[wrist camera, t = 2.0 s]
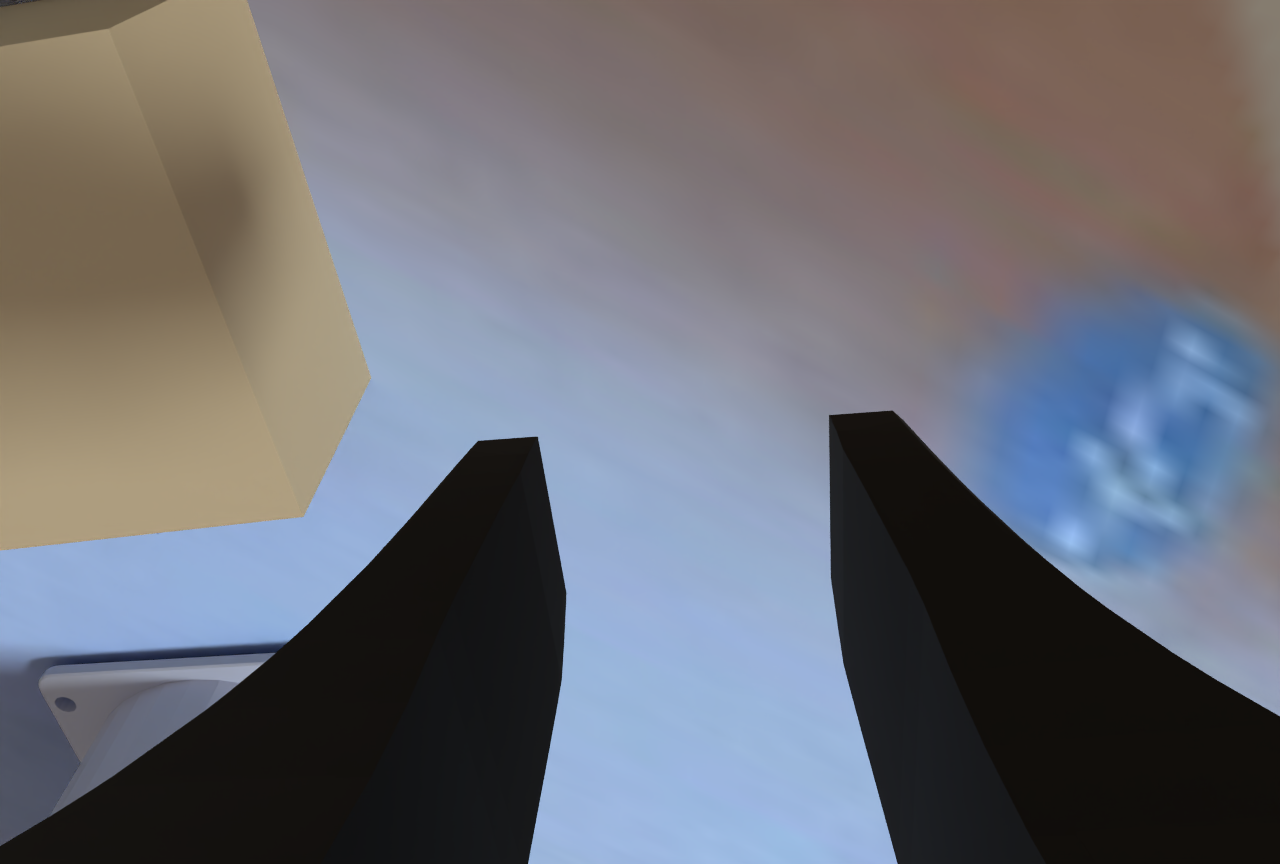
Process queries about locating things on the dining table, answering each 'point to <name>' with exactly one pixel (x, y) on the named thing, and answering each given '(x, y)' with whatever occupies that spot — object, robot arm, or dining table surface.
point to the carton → (158, 279)
